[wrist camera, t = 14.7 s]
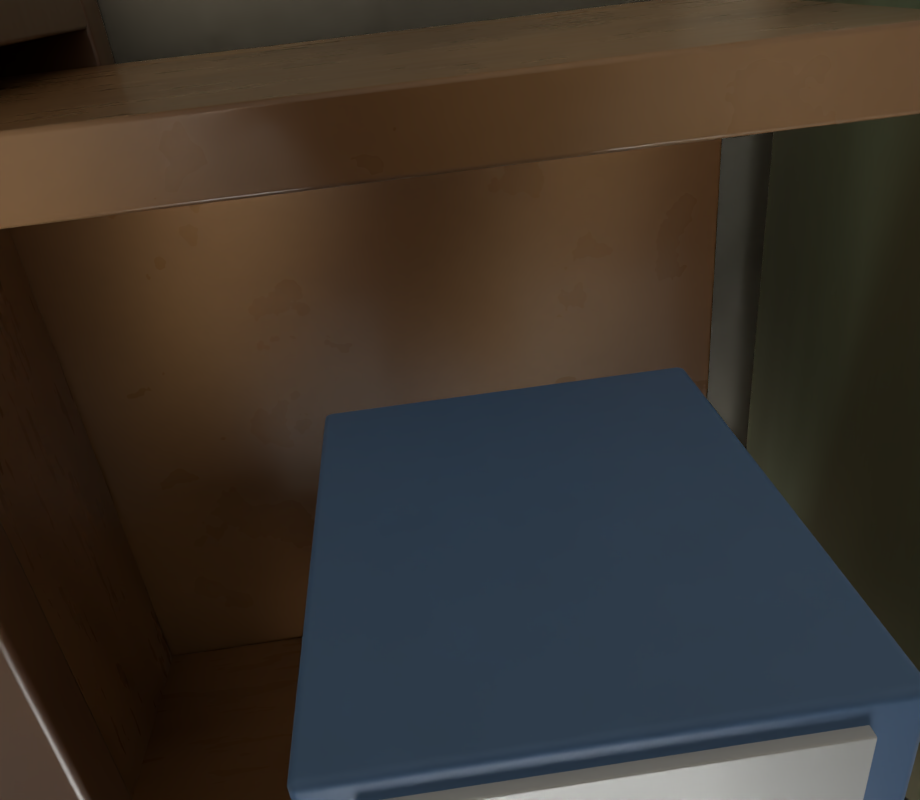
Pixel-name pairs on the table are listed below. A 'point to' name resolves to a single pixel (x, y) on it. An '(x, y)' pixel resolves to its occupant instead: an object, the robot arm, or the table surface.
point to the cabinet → (3, 579)
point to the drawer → (423, 310)
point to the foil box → (582, 612)
